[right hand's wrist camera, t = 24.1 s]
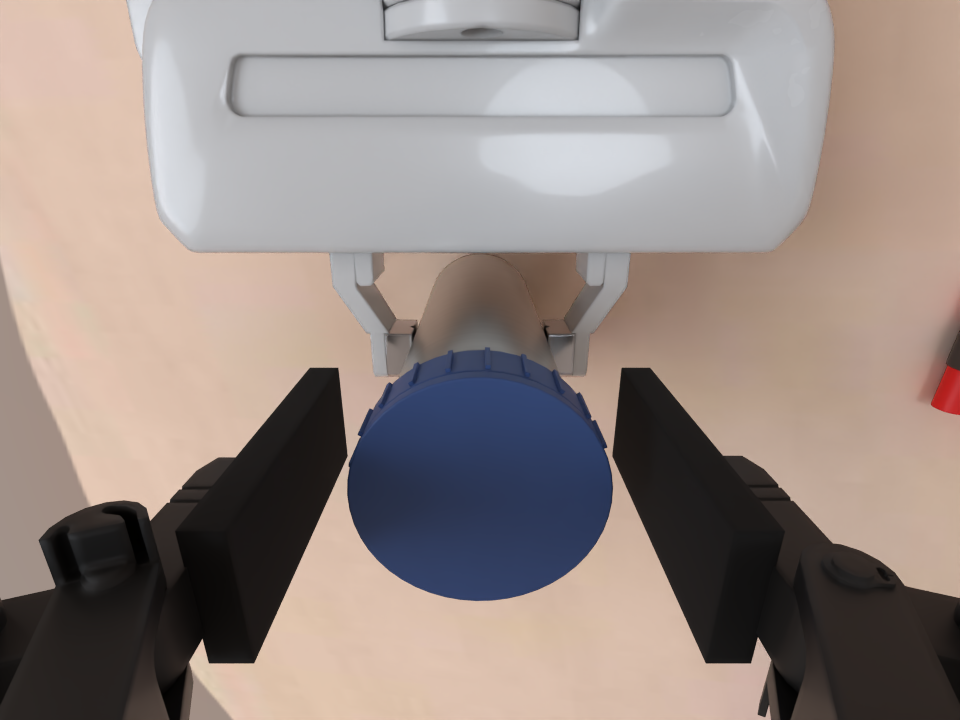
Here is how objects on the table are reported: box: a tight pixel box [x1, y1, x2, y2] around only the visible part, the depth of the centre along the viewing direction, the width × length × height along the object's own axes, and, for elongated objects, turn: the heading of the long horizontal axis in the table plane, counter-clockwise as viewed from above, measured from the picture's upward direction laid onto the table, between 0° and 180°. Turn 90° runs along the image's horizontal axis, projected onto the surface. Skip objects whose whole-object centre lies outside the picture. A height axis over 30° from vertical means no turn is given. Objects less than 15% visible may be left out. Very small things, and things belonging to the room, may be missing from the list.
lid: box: [347, 347, 613, 601], centre depth 11 cm, size 6×6×2 cm
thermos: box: [399, 254, 561, 378], centre depth 18 cm, size 5×5×15 cm
